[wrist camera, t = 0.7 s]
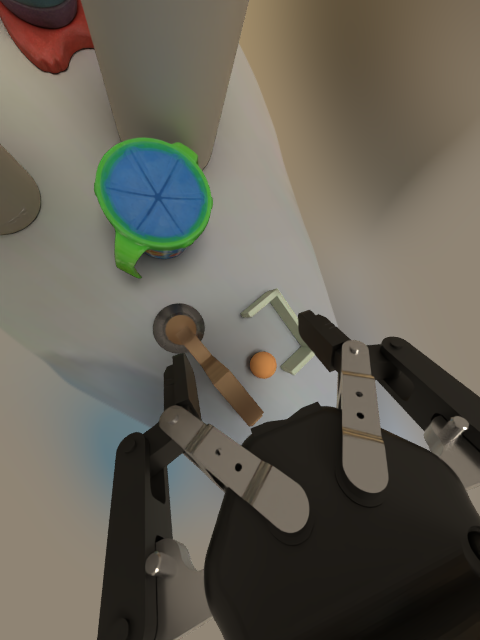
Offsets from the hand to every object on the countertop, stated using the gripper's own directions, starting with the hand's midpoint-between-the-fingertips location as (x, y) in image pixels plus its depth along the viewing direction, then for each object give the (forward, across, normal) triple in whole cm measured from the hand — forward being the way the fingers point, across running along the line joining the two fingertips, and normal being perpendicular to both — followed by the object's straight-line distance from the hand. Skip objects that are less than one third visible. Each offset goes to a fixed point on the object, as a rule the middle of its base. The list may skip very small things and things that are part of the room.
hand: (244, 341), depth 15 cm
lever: (+12, +4, +14) cm, 19 cm away
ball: (+10, -4, +16) cm, 19 cm away
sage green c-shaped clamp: (+15, -8, +14) cm, 22 cm away
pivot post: (+16, +6, +8) cm, 19 cm away
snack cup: (+23, +4, -3) cm, 24 cm away
